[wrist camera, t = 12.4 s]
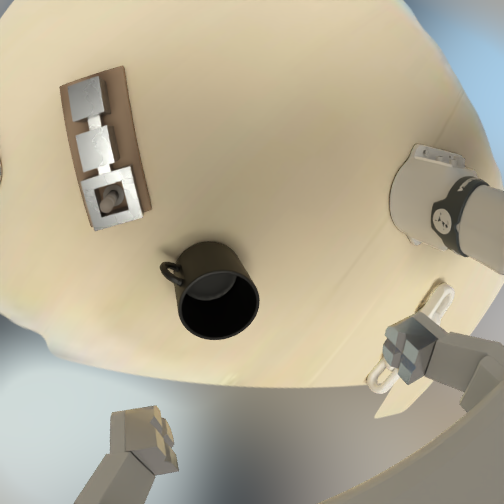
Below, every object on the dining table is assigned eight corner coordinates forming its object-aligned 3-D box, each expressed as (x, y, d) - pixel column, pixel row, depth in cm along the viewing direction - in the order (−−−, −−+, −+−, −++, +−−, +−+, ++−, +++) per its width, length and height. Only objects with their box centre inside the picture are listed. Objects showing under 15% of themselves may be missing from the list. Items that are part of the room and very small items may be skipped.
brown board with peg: (124, 68, 28) (116, 54, 22) (151, 206, 36) (149, 223, 30) (63, 88, 27) (43, 80, 20) (93, 223, 34) (80, 243, 28)
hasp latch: (68, 94, 26) (56, 90, 22) (116, 79, 27) (110, 72, 23) (98, 225, 33) (91, 237, 29) (143, 212, 34) (141, 223, 30)
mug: (176, 220, 38) (181, 245, 30) (252, 258, 43) (275, 289, 35) (145, 279, 39) (143, 317, 31) (219, 310, 45) (233, 349, 37)
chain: (372, 382, 66) (385, 398, 61) (358, 379, 64) (372, 396, 58) (445, 284, 61) (463, 296, 55) (436, 275, 58) (455, 287, 52)
